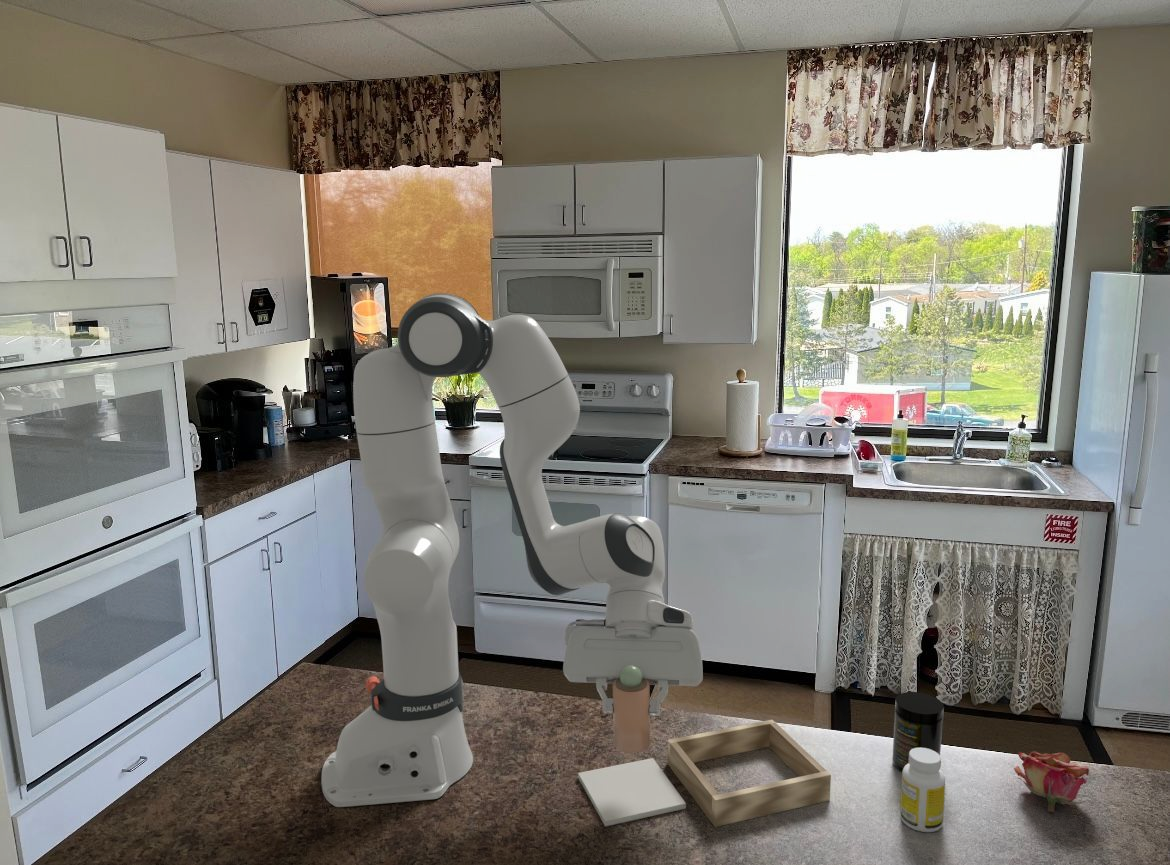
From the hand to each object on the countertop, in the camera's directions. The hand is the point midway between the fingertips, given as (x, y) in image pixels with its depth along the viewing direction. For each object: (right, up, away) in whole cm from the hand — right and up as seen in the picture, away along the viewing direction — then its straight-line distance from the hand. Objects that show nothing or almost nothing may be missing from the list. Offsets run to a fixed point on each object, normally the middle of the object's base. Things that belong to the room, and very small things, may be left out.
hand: (631, 713), depth 120 cm
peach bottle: (0, -5, +2) cm, 5 cm away
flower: (+59, -12, 0) cm, 60 cm away
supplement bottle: (+39, -13, -4) cm, 42 cm away
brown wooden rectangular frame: (+17, -12, +5) cm, 21 cm away
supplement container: (+43, -11, +9) cm, 46 cm away
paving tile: (0, -12, +3) cm, 13 cm away
